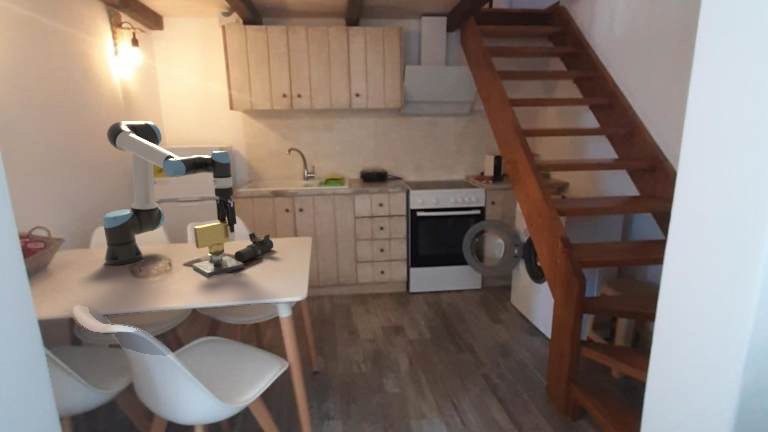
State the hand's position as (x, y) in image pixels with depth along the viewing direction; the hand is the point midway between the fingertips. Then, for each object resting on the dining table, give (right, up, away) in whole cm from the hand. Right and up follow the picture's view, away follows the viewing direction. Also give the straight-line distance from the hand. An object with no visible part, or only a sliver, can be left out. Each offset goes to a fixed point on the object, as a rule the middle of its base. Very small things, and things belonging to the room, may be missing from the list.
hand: (228, 237), depth 187 cm
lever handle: (-4, -7, -3) cm, 8 cm away
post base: (-4, -14, -1) cm, 14 cm away
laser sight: (+8, -10, +16) cm, 20 cm away
